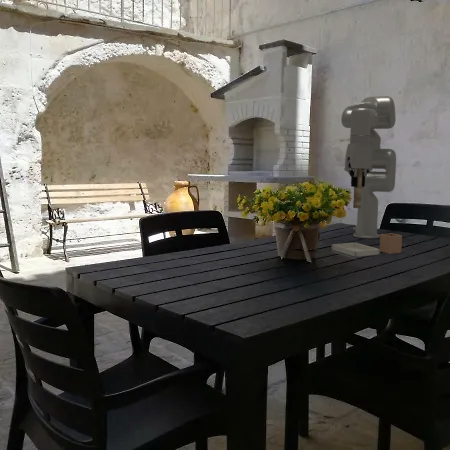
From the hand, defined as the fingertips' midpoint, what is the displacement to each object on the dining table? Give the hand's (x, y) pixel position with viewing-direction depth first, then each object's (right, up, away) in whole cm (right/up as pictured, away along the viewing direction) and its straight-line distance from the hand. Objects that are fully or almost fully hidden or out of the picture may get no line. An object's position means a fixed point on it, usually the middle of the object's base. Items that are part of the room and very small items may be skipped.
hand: (357, 186), depth 207 cm
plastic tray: (0, -27, +4) cm, 28 cm away
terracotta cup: (+14, -27, +4) cm, 31 cm away
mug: (-18, -26, +13) cm, 34 cm away
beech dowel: (0, -9, +1) cm, 9 cm away
